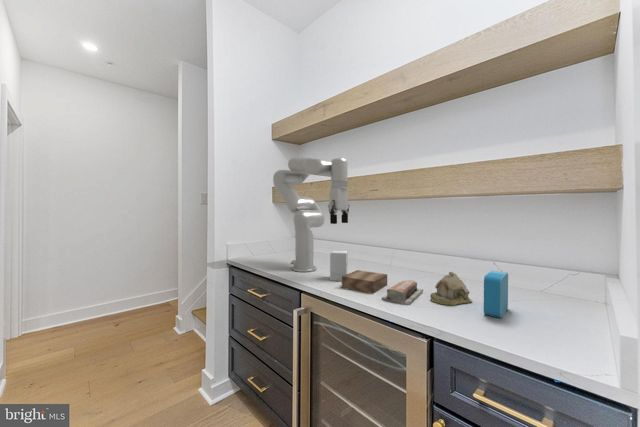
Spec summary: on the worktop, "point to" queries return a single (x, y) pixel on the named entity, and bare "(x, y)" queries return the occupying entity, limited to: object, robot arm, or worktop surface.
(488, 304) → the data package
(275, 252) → the worktop surface
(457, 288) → the ceramic model
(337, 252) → the supplement box
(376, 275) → the walnut block
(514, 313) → the worktop surface
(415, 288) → the packaged product
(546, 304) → the worktop surface
